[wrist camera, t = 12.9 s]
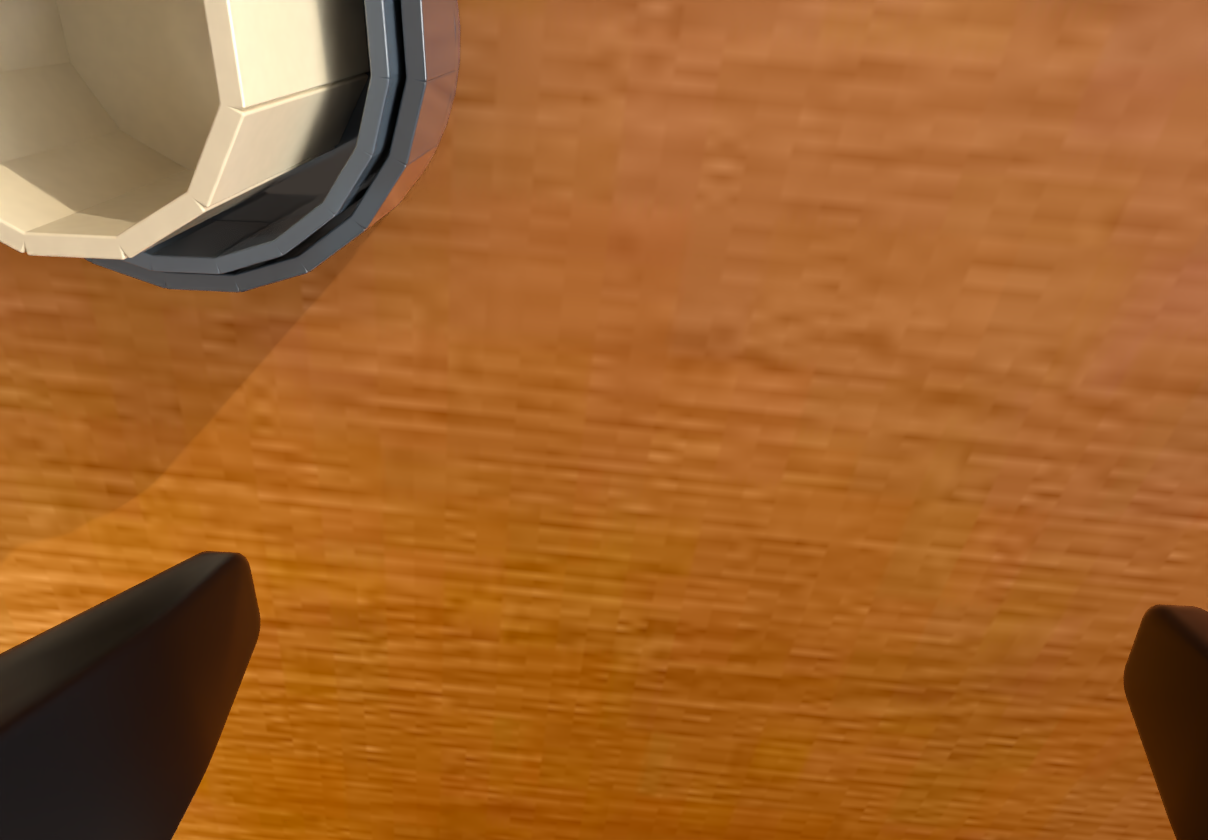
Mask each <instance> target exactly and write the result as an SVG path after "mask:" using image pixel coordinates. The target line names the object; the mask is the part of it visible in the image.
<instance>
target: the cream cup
mask: <svg viewBox="0 0 1208 840" xmlns="http://www.w3.org/2000/svg"><path fill="white" fill-rule="evenodd" d="M367 72H369V64H368V52H367V41H366V30H365V19H364V8H363V0H0V242H2V243H4V244H5V245H7V246H9V247H11V248H13V249H15V250H16V251H18V252H20V253H25V252H27V254H28V255H31V256H52V257H74V258H96V259H118V260H124V259H126V258H132V257H134V256H136V255H138V254H140V253H142V252H144V251H146V250H148V249H150V248H152V247H154V246H156V245H158V244H160V243H162V242H164V241H166V240H168V239H170V238H172V237H174V236H176V235H178V234H180V233H182V232H184V231H186V230H188V229H190V228H191V227H193V226H195V225H197V224H199V223H201V222H203V221H205V220H207V219H209V218H211V217H213V216H215V215H217V214H219V213H221V212H223V211H225V210H227V209H229V208H231V207H233V206H235V205H237V204H239V203H241V202H243V201H245V200H247V199H249V198H251V197H253V196H255V195H257V194H259V193H261V192H262V191H264V190H266V189H268V188H270V187H272V186H274V185H276V184H278V183H280V182H281V181H283V180H285V179H286V178H288V177H290V176H291V175H293V174H294V173H296V172H298V171H299V170H301V169H303V168H304V167H306V166H307V165H309V164H311V163H312V162H314V161H316V160H317V159H319V158H321V157H322V156H324V155H325V154H327V153H329V152H330V151H332V150H334V148H335V147H334V146H336V145H338V144H339V141H340V139H341V137H342V135H343V132H344V130H345V128H346V126H347V123H348V121H349V119H350V117H351V114H352V112H353V110H354V108H355V106H356V103H357V101H358V99H359V97H360V94H361V92H362V90H363V88H364V85H365V83H366V81H367V79H368V75H367V74H365V73H367Z"/></svg>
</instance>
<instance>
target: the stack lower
mask: <svg viewBox="0 0 1208 840" xmlns="http://www.w3.org/2000/svg"><path fill="white" fill-rule="evenodd" d="M400 1H401V15H402V28H403V42H404V56H405V69H406V80H405V85H404V89H403V94H402V98H401V102H400V107H399V111H398V116H397V120H396V124H395V129H394V133H393V137H392V142H391V146H390V151H389V155H388V157H387V158H386V160H385V161H384V163H383V165H382V166H381V168H380V169H379V171H378V173H377V174H376V176H375V177H374V179H373V181H372V182H371V184H370V185H369V187H368V189H367V190H366V192H365V193H364V195H363V197H362V198H361V200H360V201H359V202H358V203H357V204H355V205H354V206H353V207H351V208H350V209H349V210H348V211H346V212H345V213H344V214H342V215H341V216H340V217H338V218H337V219H336V220H334V221H333V222H332V223H330V224H329V225H327V226H326V227H324V228H323V229H321V230H320V231H319V232H317V233H316V234H314V235H313V236H311V237H310V238H308V239H307V240H306V241H304V242H303V243H301V244H300V245H298V246H297V247H296V248H294V249H293V250H291V251H290V252H288V253H287V254H285V255H283V256H281V257H278V258H274V259H271V260H268V261H264V262H261V263H258V264H254V265H251V266H247V267H244V268H241V269H237V270H234V271H230V272H227V273H224V274H205V273H183V272H161V271H153V270H148V269H145V268H142V267H139V266H136V265H133V264H130V263H127V262H125V261H122V260H118V259H96V258H84V259H86V260H87V261H89V262H92V263H93V264H96V265H98V266H101V267H104V268H107V269H110V270H113V271H116V272H119V273H121V274H124V275H127V276H130V277H133V278H136V279H139V280H142V281H145V282H147V283H150V284H153V285H156V286H159V287H162V288H167V289H177V290H198V291H219V292H244V291H248V290H251V289H255V288H258V287H262V286H265V285H269V284H272V283H275V282H279V281H282V280H286V279H289V278H293V277H296V276H300V275H303V274H307V273H308V272H311V271H312V270H313V269H315V268H316V267H317V266H319V265H320V264H321V263H323V262H324V261H325V260H327V259H328V258H329V257H331V256H332V255H333V254H335V253H336V252H338V251H339V250H340V249H342V248H343V247H344V246H346V245H347V244H348V243H350V242H351V241H352V240H354V239H355V238H356V237H358V236H359V235H360V234H362V233H363V232H364V231H366V230H367V229H368V228H369V227H371V226H372V225H373V224H374V223H376V222H377V221H378V220H379V219H381V218H382V217H383V216H384V215H386V214H387V213H388V212H389V211H391V210H392V209H393V208H395V207H396V206H397V205H398V204H399V203H400V202H401V201H402V199H403V198H404V196H405V195H406V193H407V192H408V191H409V190H410V188H411V187H412V186H413V185H414V183H415V182H416V181H417V180H418V178H419V177H420V176H421V175H422V173H423V171H424V170H425V168H426V166H427V165H428V163H429V161H430V159H431V158H432V156H433V154H434V153H435V151H436V149H437V147H438V144H439V142H440V139H441V137H442V135H443V132H444V130H445V127H446V125H447V122H448V119H449V115H450V111H451V107H452V104H453V100H454V96H455V92H456V85H457V77H458V70H459V63H460V21H459V11H458V2H457V0H400Z"/></svg>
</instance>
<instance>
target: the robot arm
mask: <svg viewBox="0 0 1208 840" xmlns="http://www.w3.org/2000/svg"><path fill="white" fill-rule="evenodd" d="M259 631H260V613H259V608H258V604H257V599H256V594H255V589H254V584H253V579H252V574H251V570H250V566H249V563H248V561H247V559H246V557H244V556H243V555H241V554H240V553H232V552H215V551H206V552H201V553H199V554H197V555H195V556H193V557H191V558H189V559H187V560H185V561H183V562H181V563H179V564H177V565H175V566H173V567H171V568H169V569H167V570H165V571H163V572H161V573H159V574H157V575H155V576H153V577H152V578H150V579H148V580H146V581H144V582H142V583H140V584H138V585H136V586H134V587H132V588H130V589H128V590H126V591H124V592H122V593H120V594H118V595H116V596H114V597H112V598H110V599H108V600H106V601H104V602H102V603H100V604H98V605H96V606H94V607H92V608H90V609H88V610H86V611H84V612H82V613H80V614H78V615H76V616H74V617H73V618H71V619H69V620H67V621H65V622H63V623H61V624H59V625H57V626H55V627H53V628H51V629H49V630H47V631H45V632H43V633H41V634H39V635H37V636H35V637H33V638H31V639H29V640H27V641H25V642H23V643H21V644H19V645H17V646H15V647H13V648H11V649H9V650H7V651H5V652H3V653H1V654H0V840H171V839H172V837H173V835H174V833H175V831H176V829H177V827H178V825H179V823H180V821H181V819H182V817H183V816H184V814H185V812H186V810H187V808H188V806H189V804H190V802H191V800H192V798H193V796H194V794H195V792H196V790H197V788H198V786H199V784H200V782H201V780H202V778H203V776H204V774H205V772H206V770H207V767H208V765H209V762H210V760H211V758H212V755H213V753H214V751H215V748H216V746H217V743H218V740H219V738H220V735H221V733H222V730H223V728H224V725H225V722H226V720H227V717H228V715H229V712H230V710H231V707H232V704H233V702H234V699H235V697H236V694H237V691H238V689H239V686H240V684H241V681H242V679H243V676H244V673H245V671H246V668H247V666H248V663H249V660H250V658H251V655H252V653H253V650H254V648H255V645H256V642H257V639H258V636H259ZM1124 689H1125V694H1126V697H1127V700H1128V703H1129V706H1130V709H1131V712H1132V715H1133V718H1134V720H1135V723H1136V726H1137V729H1138V732H1139V735H1140V738H1141V741H1142V744H1143V746H1144V749H1145V752H1146V755H1147V758H1148V761H1149V764H1150V767H1151V769H1152V772H1153V775H1154V778H1155V781H1156V784H1157V787H1158V790H1159V792H1160V795H1161V798H1162V801H1163V804H1164V807H1165V810H1166V813H1167V815H1168V818H1169V821H1170V823H1171V826H1172V829H1173V831H1174V834H1175V836H1176V839H1177V840H1208V612H1207V611H1205V610H1203V609H1201V608H1198V607H1193V606H1177V605H1155V606H1153V607H1151V608H1149V609H1148V610H1147V611H1146V613H1145V614H1144V616H1143V618H1142V621H1141V624H1140V627H1139V630H1138V632H1137V635H1136V638H1135V641H1134V644H1133V647H1132V649H1131V652H1130V655H1129V658H1128V661H1127V663H1126V666H1125V671H1124Z"/></svg>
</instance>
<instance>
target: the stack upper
mask: <svg viewBox="0 0 1208 840" xmlns="http://www.w3.org/2000/svg"><path fill="white" fill-rule="evenodd" d="M363 8H364V19H365V30H366V41H367V52H368V64H369V72H367V73H365V74H367V75H368V79H367V81H366V83H365V85H364V88H363V90H362V92H361V94H360V97H359V99H358V101H357V103H356V106H355V108H354V110H353V112H352V114H351V117H350V119H349V121H348V123H347V126H346V128H345V130H344V132H343V135H342V137H341V139H340V141H339V144H338V145H336V146H334V147H335V148H334V150H332V151H330V152H329V153H327V154H325V155H324V156H322V157H321V158H319V159H317V160H316V161H314V162H312V163H311V164H309V165H307V166H306V167H304V168H303V169H301V170H299V171H298V172H296V173H294V174H293V175H291V176H290V177H288V178H286V179H285V180H283V181H281V182H280V183H278V184H276V185H274V186H272V187H270V188H268V189H266V190H264V191H262V192H261V193H259V194H257V195H255V196H253V197H251V198H249V199H247V200H245V201H243V202H241V203H239V204H237V205H235V206H233V207H231V208H229V209H227V210H225V211H223V212H221V213H219V214H217V215H215V216H213V217H211V218H209V219H207V220H205V221H203V222H201V223H199V224H197V225H195V226H193V227H191V228H190V229H188V230H186V231H184V232H182V233H180V234H178V235H176V236H174V237H172V238H170V239H168V240H166V241H164V242H162V243H160V244H158V245H156V246H154V247H152V248H150V249H148V250H146V251H144V252H142V253H140V254H138V255H136V256H134V257H132V258H126V259H124V260H122V261H125V262H127V263H130V264H133V265H136V266H139V267H142V268H145V269H148V270H153V271H161V272H183V273H205V274H224V273H227V272H230V271H234V270H237V269H241V268H244V267H247V266H251V265H254V264H258V263H261V262H264V261H268V260H271V259H274V258H278V257H281V256H283V255H285V254H287V253H288V252H290V251H291V250H293V249H294V248H296V247H297V246H298V245H300V244H301V243H303V242H304V241H306V240H307V239H308V238H310V237H311V236H313V235H314V234H316V233H317V232H319V231H320V230H321V229H323V228H324V227H326V226H327V225H329V224H330V223H332V222H333V221H334V220H336V219H337V218H338V217H340V216H341V215H342V214H344V213H345V212H346V211H348V210H349V209H350V208H351V207H353V206H354V205H355V204H357V203H358V202H359V201H360V200H361V198H362V197H363V195H364V193H365V192H366V190H367V189H368V187H369V185H370V184H371V182H372V181H373V179H374V177H375V176H376V174H377V173H378V171H379V169H380V168H381V166H382V165H383V163H384V161H385V160H386V158H387V157H388V155H389V151H390V146H391V142H392V137H393V133H394V129H395V124H396V120H397V116H398V111H399V107H400V102H401V98H402V94H403V89H404V85H405V80H406V69H405V56H404V42H403V28H402V15H401V1H400V0H363Z"/></svg>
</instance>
